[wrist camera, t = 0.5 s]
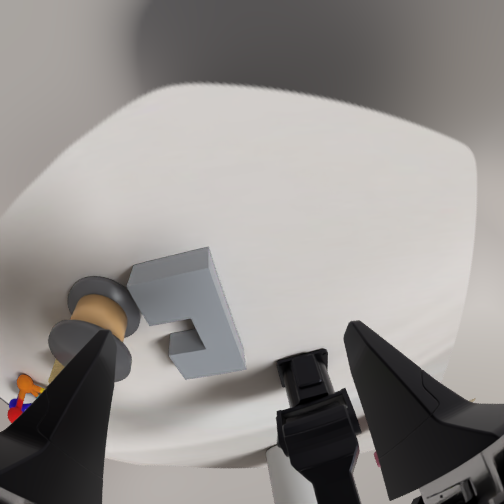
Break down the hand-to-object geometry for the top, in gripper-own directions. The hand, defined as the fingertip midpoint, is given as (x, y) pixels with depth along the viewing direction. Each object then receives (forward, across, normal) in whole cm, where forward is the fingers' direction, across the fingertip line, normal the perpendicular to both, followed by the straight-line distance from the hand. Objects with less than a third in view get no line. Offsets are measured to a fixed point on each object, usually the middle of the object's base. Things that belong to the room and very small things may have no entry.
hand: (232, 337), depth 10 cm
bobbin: (+14, +12, +12) cm, 22 cm away
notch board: (+14, +3, +12) cm, 19 cm away
